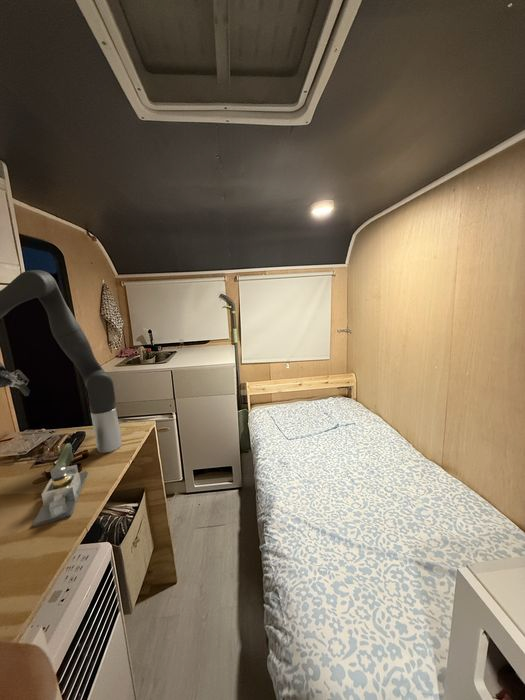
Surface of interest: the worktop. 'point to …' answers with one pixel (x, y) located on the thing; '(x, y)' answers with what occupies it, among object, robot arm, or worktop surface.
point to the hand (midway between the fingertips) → (13, 398)
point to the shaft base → (69, 504)
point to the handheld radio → (65, 456)
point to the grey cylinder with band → (59, 477)
